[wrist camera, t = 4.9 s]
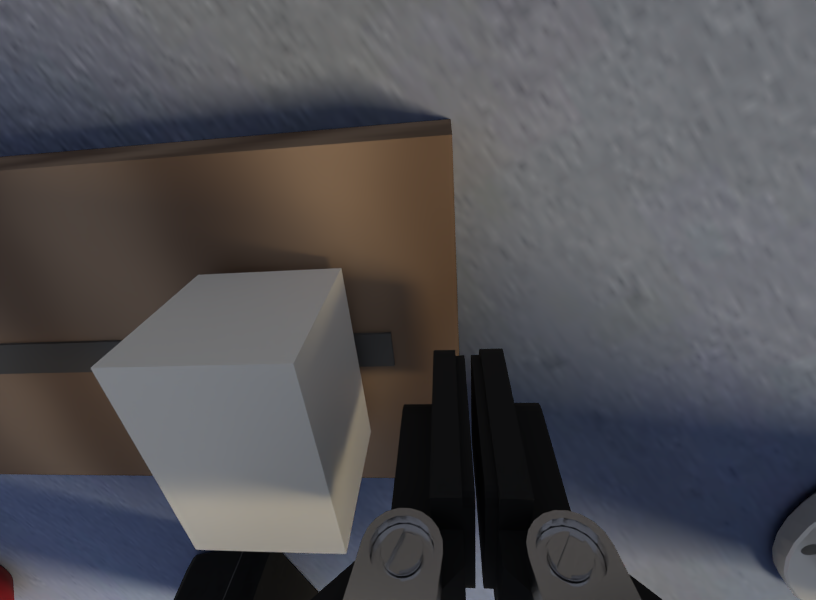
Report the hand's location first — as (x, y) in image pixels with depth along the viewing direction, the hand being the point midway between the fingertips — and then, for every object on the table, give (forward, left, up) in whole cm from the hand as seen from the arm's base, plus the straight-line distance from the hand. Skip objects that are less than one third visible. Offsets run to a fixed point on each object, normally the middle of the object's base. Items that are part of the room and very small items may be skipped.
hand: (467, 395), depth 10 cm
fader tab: (+5, 0, -2) cm, 5 cm away
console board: (+13, 0, -5) cm, 14 cm away
